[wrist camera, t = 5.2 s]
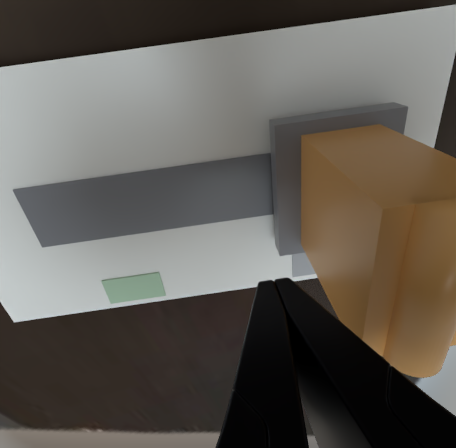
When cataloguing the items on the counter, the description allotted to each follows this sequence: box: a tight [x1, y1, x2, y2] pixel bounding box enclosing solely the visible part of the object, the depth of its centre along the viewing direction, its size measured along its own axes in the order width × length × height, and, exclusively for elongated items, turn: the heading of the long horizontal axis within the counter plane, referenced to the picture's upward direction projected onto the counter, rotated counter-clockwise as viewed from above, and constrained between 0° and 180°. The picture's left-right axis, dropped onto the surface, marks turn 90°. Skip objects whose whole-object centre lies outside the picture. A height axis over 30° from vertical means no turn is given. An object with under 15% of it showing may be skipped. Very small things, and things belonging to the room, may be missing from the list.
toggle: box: [269, 102, 456, 378], centre depth 10 cm, size 5×6×8 cm
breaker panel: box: [0, 5, 456, 322], centre depth 15 cm, size 22×12×2 cm, turn 97°
